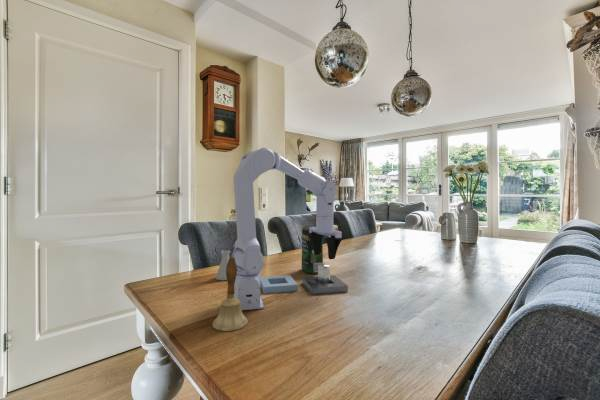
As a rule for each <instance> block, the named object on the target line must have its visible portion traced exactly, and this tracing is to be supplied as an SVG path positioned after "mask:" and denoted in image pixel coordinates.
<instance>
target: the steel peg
mask: <svg viewBox="0 0 600 400" xmlns="http://www.w3.org/2000/svg"><path fill="white" fill-rule="evenodd" d="M330 275H331V264H328V263H323V264H319V265H318V274H317V276H318V284H330Z"/></svg>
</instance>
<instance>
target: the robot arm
mask: <svg viewBox="0 0 600 400" xmlns="http://www.w3.org/2000/svg"><path fill="white" fill-rule="evenodd" d="M272 170H276V171H280V172H281V173H282V174H284V175H287V176H290V177H291V178H293V179H295V180H297V184H298V185H299V186H301V187H302V188H305V189H306V190H307V191H310V192H312V193H313V195H314V196H315V197H316V203H315V204H316V206H315V207H316V208H315V209H316V213H315V214H316V215H315V217H316V218H315V223H316V225H315V226H316V227H309V233H311V234H309V235H308V237H309V239H310V241H311V243H312V247H313V251H314V255H320V253H321V243H322V239H323V240H324V239H325V241H326V246H327V257H328V260H335V259H336V255H337V252H338V249H339V246H340V244H341V242H342V240H343V237H342V236H343V234H342V233H343V232H342V231H340V230H336V228H334V208H335V207H334V204H335V203H334V202H335V201H336V199H335V198H336V196H337V194H338V192H339V191H338V190H339V189H338V188H337V185H336V183H335V182H334V181H332V180H330V179H329V180H328V179H327V180H326V179H325V176H323V175H318V173H315V170H314V169H313V168H310V169H309V168H306V169H301V168H300V167H298V166H297V165H296V164H294V163H292V162H291V161H289V160H288V159H286V158H284V156H282V155H280V154H279V153H278V152H276V151H274V150H271V148H269V147H261V148H259V149H256V150H253V151H249V152H247V153H245V155H243V156H241V158H240V162H239V164H238V166H237V168H236V171H235V172H234V174H233V192H234V204H235V206H234V208H235V219H236V220H235V221H236V222H235V223H236V237H237V238H236V240H235V242H234V249H233V252H232V256H231V257H235V262H236V265H237V276H236V279H235V284H234V290H235V291H234V292H235V293H234V297H235V298H236V299H239V300H240V306H241V311H249V310H250V311H251V310H258V309H259V310H260V309H261V310H262V309H264V308H265V306H264V302H263V300H262V298H261V286H260V277H261V271H262V269H263V268H264V266H265V257H264V255H263V253H262V252H261V245H260V243H259V240H258V239H257V227H256V209H255V196H254V194H255V193H254V192H255V191H254V182H255V181H256V180H257V179H258V178H259V177H260V176H261V175H263V174H265V173H266V172H268V171H272ZM325 236H326V237H325Z"/></svg>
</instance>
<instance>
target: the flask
mask: <svg viewBox="0 0 600 400" xmlns="http://www.w3.org/2000/svg"><path fill="white" fill-rule="evenodd" d="M220 253H221V259H220V260H221V261H220V264H219V268H218V270H217V273H216V275H215V280H217V281H227V277H226V267H227V263H228V261H229V257H230V253H231V250H221V252H220Z"/></svg>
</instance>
